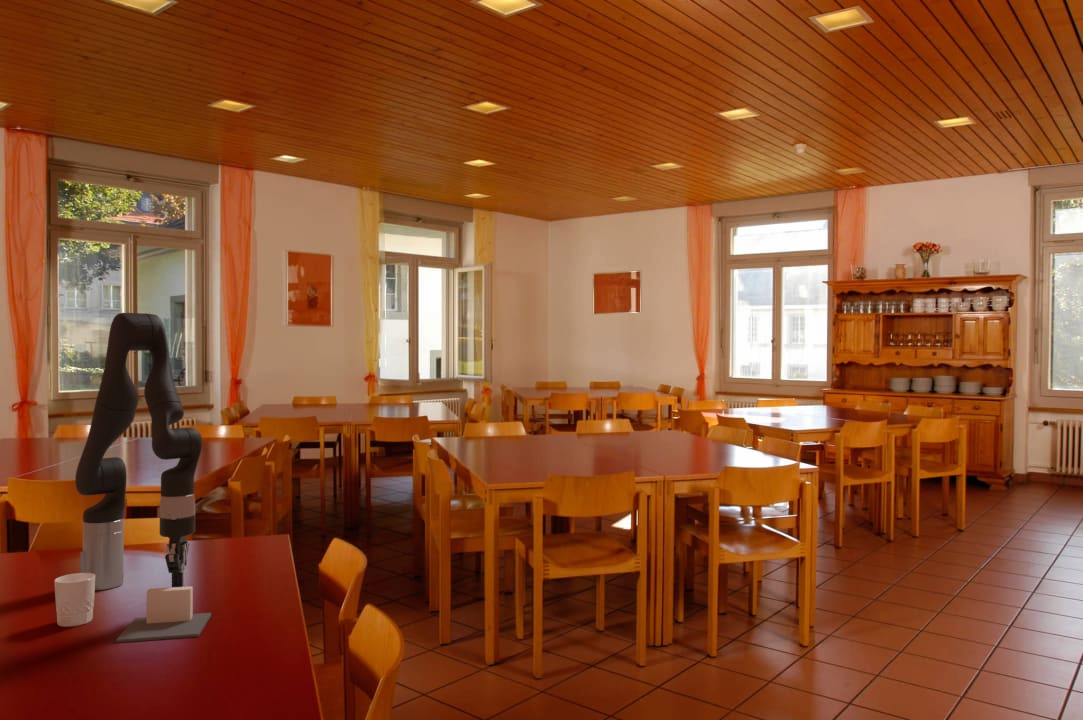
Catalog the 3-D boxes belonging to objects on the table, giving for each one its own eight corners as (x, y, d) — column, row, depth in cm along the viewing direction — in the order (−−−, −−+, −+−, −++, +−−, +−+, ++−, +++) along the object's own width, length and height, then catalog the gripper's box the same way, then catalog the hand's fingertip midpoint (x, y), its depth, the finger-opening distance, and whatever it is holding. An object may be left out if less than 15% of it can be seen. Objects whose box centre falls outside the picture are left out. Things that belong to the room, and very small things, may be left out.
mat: (116, 642, 160) (116, 639, 160) (135, 620, 174) (135, 617, 174) (198, 636, 164) (198, 633, 164) (211, 615, 177) (211, 612, 177)
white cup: (103, 618, 175) (103, 574, 175) (72, 629, 168) (72, 584, 168) (77, 614, 178) (77, 571, 178) (45, 625, 170) (45, 580, 170)
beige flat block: (146, 623, 170) (146, 592, 170) (149, 619, 172) (149, 588, 172) (190, 620, 172) (190, 589, 172) (192, 616, 174) (192, 586, 174)
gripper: (167, 509, 184) (167, 581, 184) (152, 520, 171) (152, 598, 171) (200, 507, 186) (200, 579, 186) (188, 518, 173) (188, 595, 173)
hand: (177, 588), depth 178 cm, fingers closed
